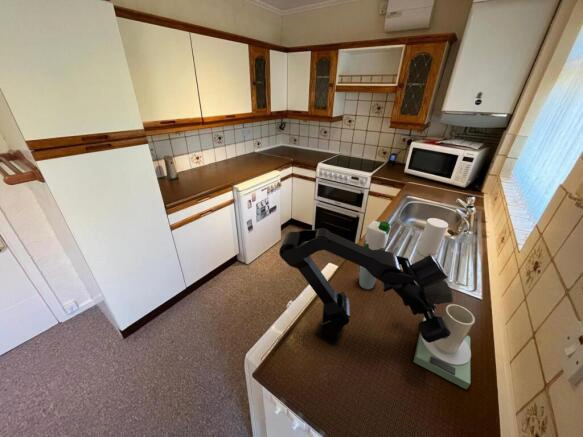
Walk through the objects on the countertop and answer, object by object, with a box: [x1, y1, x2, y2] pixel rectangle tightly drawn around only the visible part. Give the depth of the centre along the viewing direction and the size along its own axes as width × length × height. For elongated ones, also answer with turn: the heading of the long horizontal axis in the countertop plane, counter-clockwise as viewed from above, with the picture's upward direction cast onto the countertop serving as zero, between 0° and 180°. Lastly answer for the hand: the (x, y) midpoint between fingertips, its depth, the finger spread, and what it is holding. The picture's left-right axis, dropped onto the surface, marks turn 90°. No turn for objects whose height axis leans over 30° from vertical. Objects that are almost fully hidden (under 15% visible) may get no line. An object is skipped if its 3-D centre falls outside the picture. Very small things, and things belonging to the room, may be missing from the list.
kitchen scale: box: [413, 316, 472, 390], centre depth 71 cm, size 16×13×3 cm
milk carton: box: [362, 220, 392, 251], centre depth 105 cm, size 9×9×20 cm
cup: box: [358, 265, 377, 290], centre depth 94 cm, size 8×8×10 cm
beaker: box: [434, 303, 476, 353], centre depth 68 cm, size 7×7×12 cm
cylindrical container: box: [412, 217, 449, 264], centre depth 97 cm, size 7×7×25 cm
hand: (439, 323), depth 68 cm, fingers open, 9 cm apart
